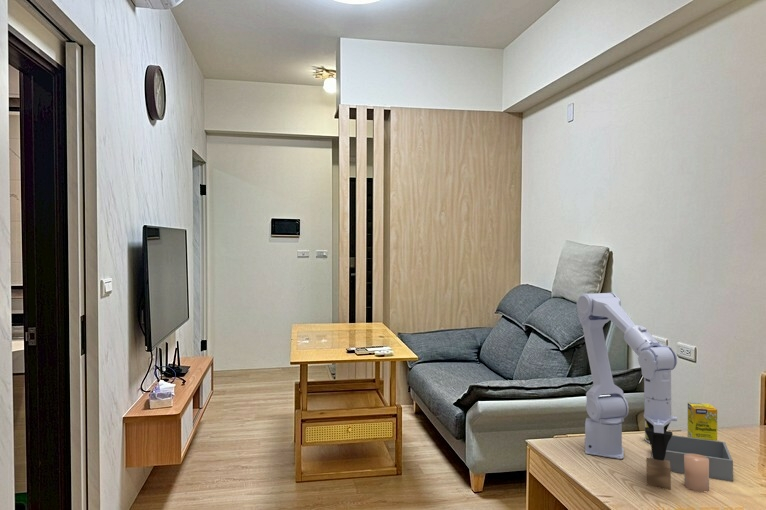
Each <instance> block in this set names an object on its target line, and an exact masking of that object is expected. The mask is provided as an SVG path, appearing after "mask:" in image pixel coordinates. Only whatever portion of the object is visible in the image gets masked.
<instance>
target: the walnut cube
mask: <svg viewBox="0 0 766 510" xmlns="http://www.w3.org/2000/svg"><path fill="white" fill-rule="evenodd" d="M645 458H646V461H645V462H646V465H645V467H646V486H648V487H653V488H658V489H663V488H664V489H663V490H669V491H671V490H672V482H671V481H672V480H671V479H672V475H671V473H672V472H671V468H670V461H667V460H664V461H663V460H656V459H654V458H652V457H645Z"/></svg>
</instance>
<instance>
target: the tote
mask: <svg viewBox="0 0 766 510" xmlns="http://www.w3.org/2000/svg"><path fill="white" fill-rule="evenodd" d="M689 453H693V454H699V455H703V456H705V457H707V458H708V459H709V477H710V478H709V479H715V480H722V481H728V482H734V460H733V458H732V455H731V453H730V450H729V449H728V445H727V444H726V442H725V441H719V440H717V441H714V440H706V439H698V438H691V437H688V436H684V435H683V436H681V435H675V434H674V435H672V437H671V439H670V440H669V442H668V445H667V449H666V454H665V458H664V460H667V461H670V468H671V471H672V472H673V473H677V472H678V473H677V474H684V455H685V454H689ZM651 458H653V454H652V453H651ZM672 472H671V473H672Z"/></svg>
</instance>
